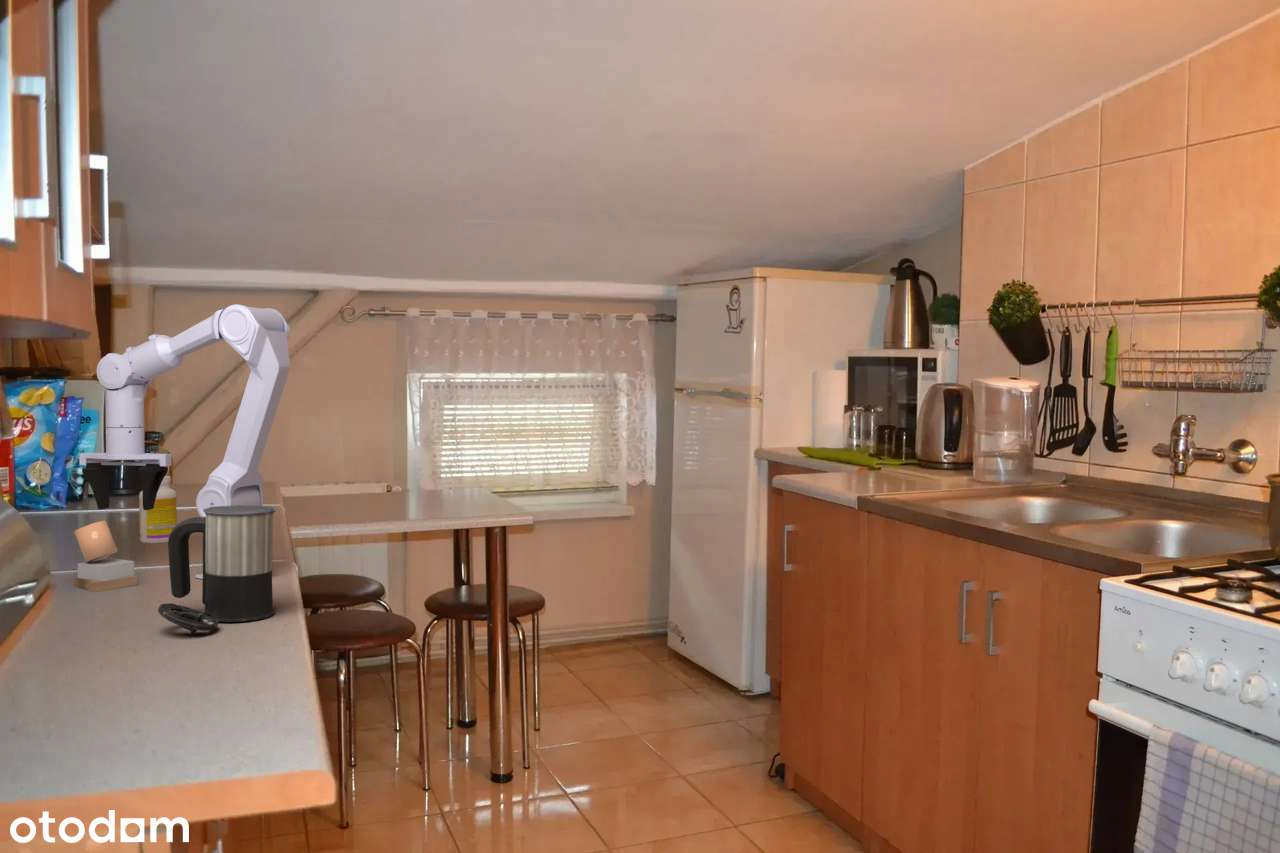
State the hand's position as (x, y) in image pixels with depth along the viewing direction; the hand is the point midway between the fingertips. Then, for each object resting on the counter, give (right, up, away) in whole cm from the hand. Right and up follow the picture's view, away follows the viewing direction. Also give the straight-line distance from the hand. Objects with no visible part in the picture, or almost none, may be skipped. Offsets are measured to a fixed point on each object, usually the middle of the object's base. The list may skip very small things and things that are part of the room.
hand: (125, 509), depth 170 cm
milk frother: (+29, -13, -34) cm, 47 cm away
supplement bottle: (-9, -9, +31) cm, 34 cm away
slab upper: (+3, -10, -12) cm, 16 cm away
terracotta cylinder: (+2, -6, -12) cm, 14 cm away
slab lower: (+3, -12, -12) cm, 17 cm away
